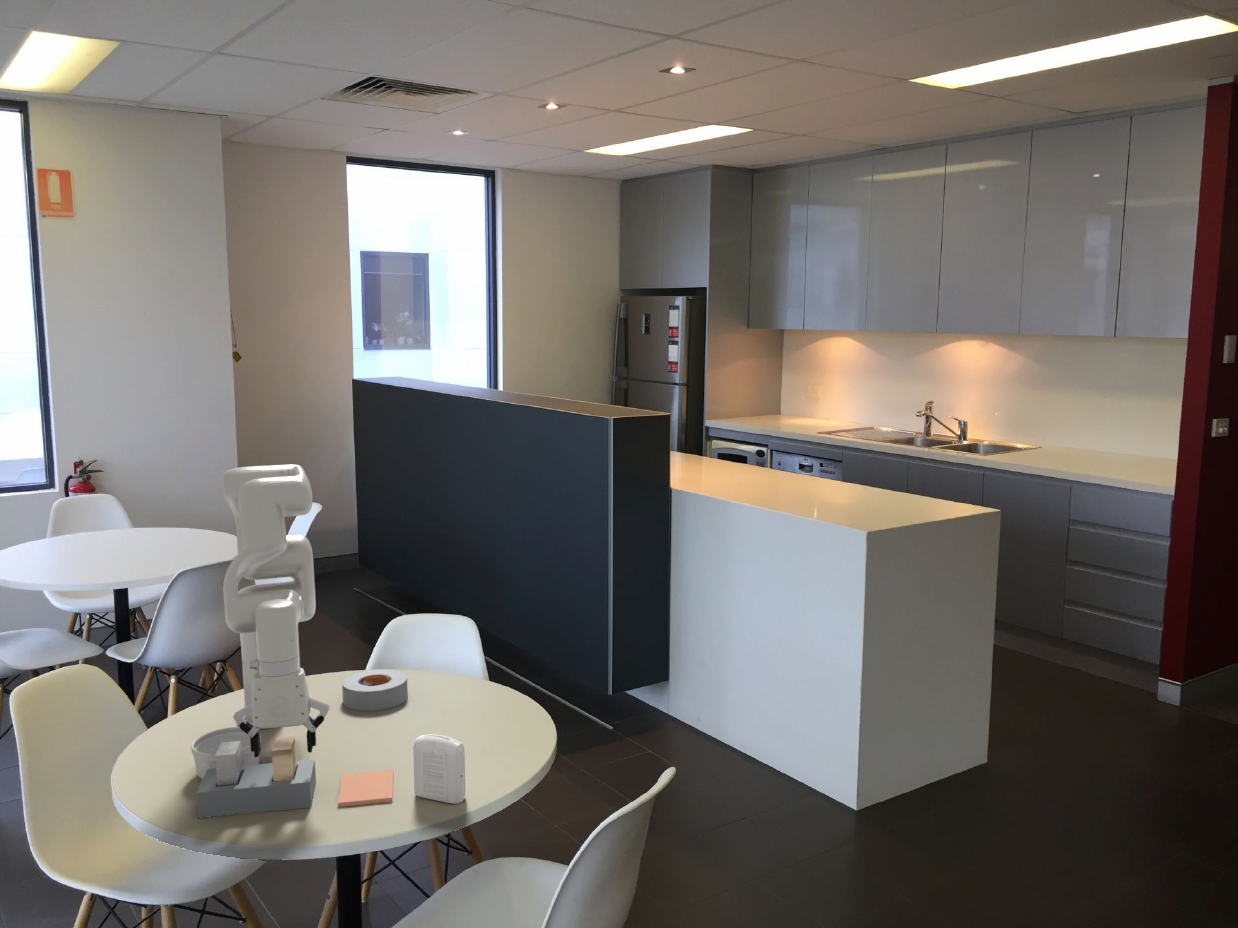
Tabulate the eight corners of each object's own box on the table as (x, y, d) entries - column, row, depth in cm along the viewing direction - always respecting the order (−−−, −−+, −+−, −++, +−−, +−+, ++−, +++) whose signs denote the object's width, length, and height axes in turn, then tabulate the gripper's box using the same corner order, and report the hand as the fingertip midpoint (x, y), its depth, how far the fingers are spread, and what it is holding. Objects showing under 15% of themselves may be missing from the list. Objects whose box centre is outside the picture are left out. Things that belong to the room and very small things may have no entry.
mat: (342, 778, 199) (342, 774, 199) (393, 773, 201) (393, 769, 201) (338, 806, 187) (337, 802, 187) (392, 801, 189) (392, 797, 189)
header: (209, 792, 193) (207, 768, 192) (316, 782, 197) (314, 759, 196) (198, 818, 183) (196, 792, 183) (311, 806, 187) (309, 781, 187)
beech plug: (279, 791, 194) (276, 737, 192) (297, 789, 194) (294, 736, 193) (275, 805, 188) (271, 750, 186) (294, 803, 189) (291, 749, 187)
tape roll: (343, 691, 246) (342, 671, 245) (406, 685, 250) (406, 666, 249) (342, 714, 231) (341, 694, 231) (409, 708, 235) (408, 687, 234)
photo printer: (469, 796, 191) (467, 735, 189) (457, 806, 187) (455, 744, 185) (423, 787, 195) (421, 727, 193) (411, 797, 191) (408, 736, 189)
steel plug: (224, 796, 192) (221, 742, 190) (244, 794, 192) (240, 740, 191) (219, 811, 186) (215, 755, 184) (238, 809, 187) (235, 753, 185)
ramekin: (234, 791, 194) (232, 757, 193) (178, 782, 198) (176, 749, 197) (276, 762, 206) (274, 730, 205) (223, 754, 210) (220, 723, 209)
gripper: (227, 675, 182) (232, 764, 184) (324, 668, 185) (329, 755, 187) (234, 662, 189) (239, 748, 191) (328, 655, 193) (332, 740, 195)
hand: (284, 751), depth 189 cm, fingers open, 9 cm apart
